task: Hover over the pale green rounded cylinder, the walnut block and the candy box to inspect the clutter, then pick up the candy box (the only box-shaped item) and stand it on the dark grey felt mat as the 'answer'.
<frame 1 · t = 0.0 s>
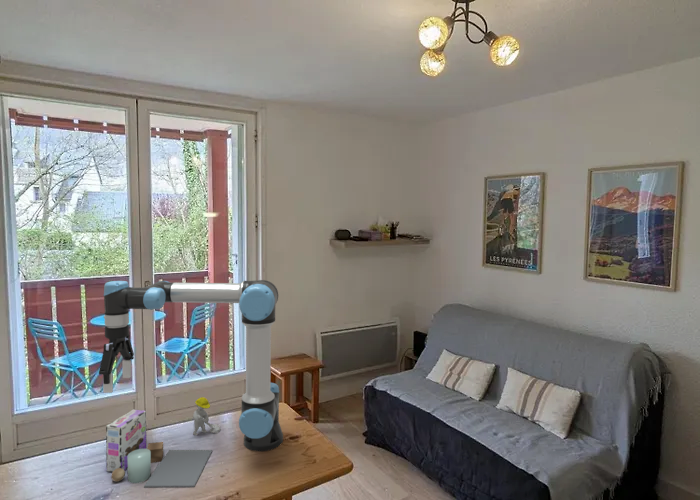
hand: (117, 384, 154), 28 cm above the table, fingers open, 13 cm apart
figurine: (206, 433, 178), on the table
pale green rounded cylinder: (139, 476, 147), on the table
felt mat: (180, 468, 153), on the table
cork ball: (118, 480, 145), on the table
candy box: (127, 462, 156), on the table
walnut block: (155, 459, 158), on the table
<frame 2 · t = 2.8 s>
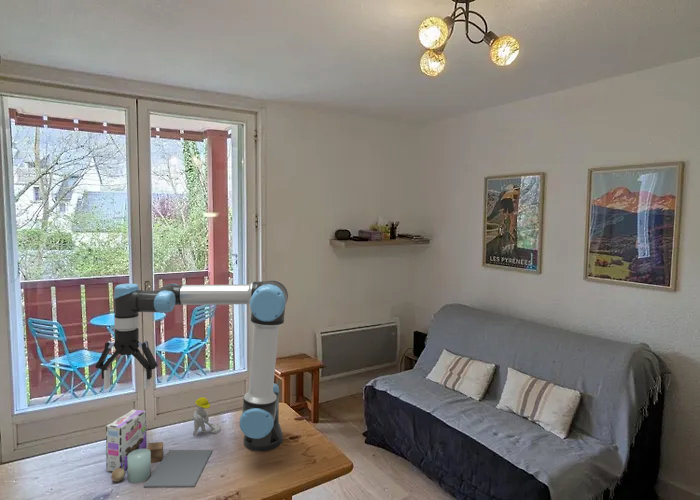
hand: (127, 387, 154), 27 cm above the table, fingers open, 13 cm apart
nothing on the table moved.
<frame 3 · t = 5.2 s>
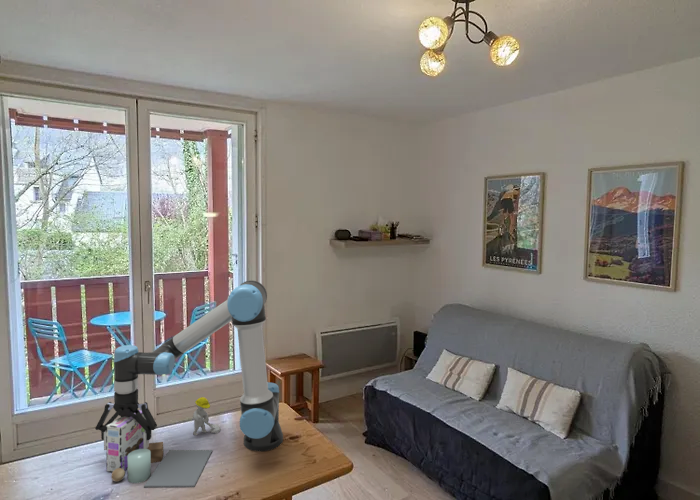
hand: (126, 448, 155), 5 cm above the table, fingers open, 13 cm apart
walnut block: (155, 459, 158), on the table, touching felt mat, gripper
everything else where it was.
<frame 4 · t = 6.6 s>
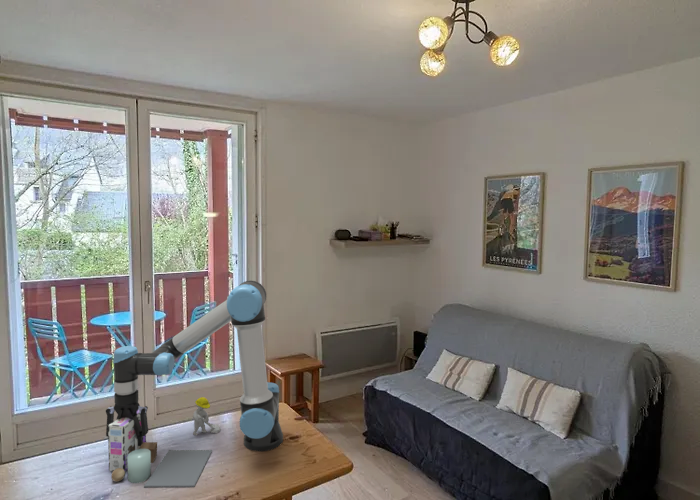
hand: (127, 454, 156), 3 cm above the table, fingers closed on candy box, 6 cm apart
candy box: (128, 461, 156), on the table, touching gripper
walnut block: (155, 452, 158), point 2 cm above the table, tilted 86°
everything else where it was.
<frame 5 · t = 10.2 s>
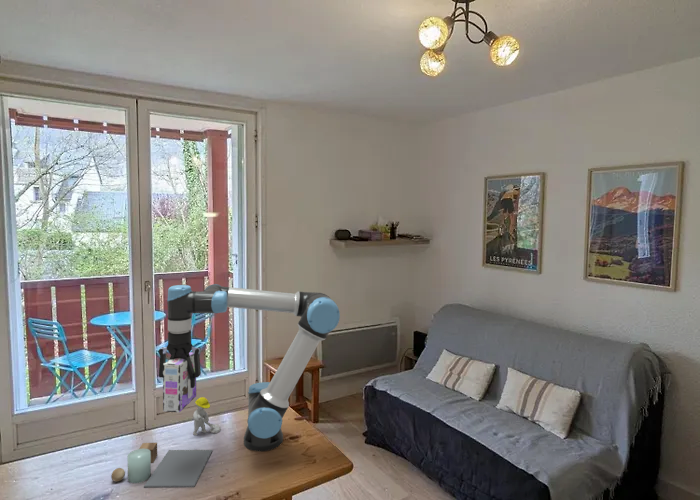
hand: (180, 396, 151), 26 cm above the table, fingers closed on candy box, 6 cm apart
candy box: (180, 404, 151), point 23 cm above the table, touching gripper
everything else where it was.
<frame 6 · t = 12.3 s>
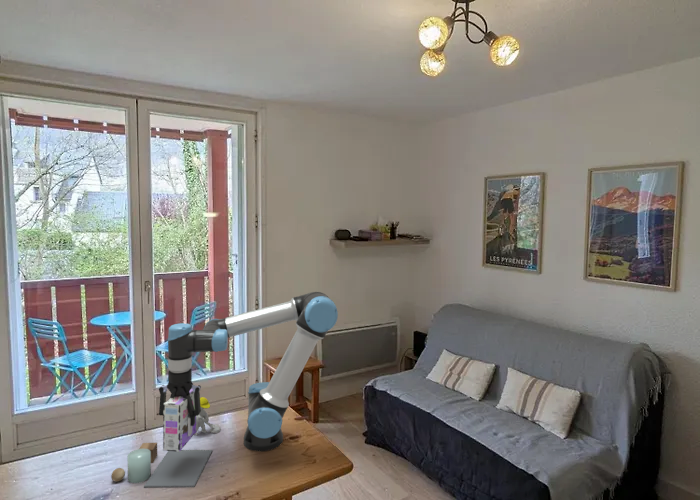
hand: (180, 434, 152), 12 cm above the table, fingers closed on candy box, 6 cm apart
candy box: (180, 441, 152), point 9 cm above the table, touching gripper
everything else where it was.
when the fingers open (4 cm above the table, at t = 14.3 s): candy box drops 1 cm, resting on felt mat.
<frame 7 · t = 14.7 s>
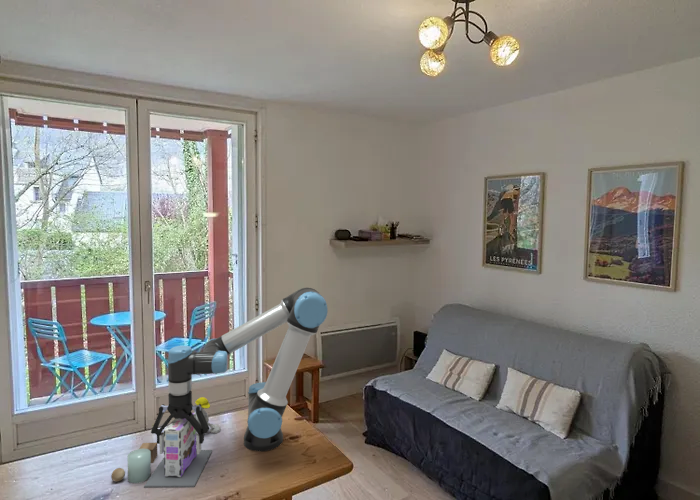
hand: (180, 452, 152), 6 cm above the table, fingers open, 12 cm apart
candy box: (181, 466, 153), resting on felt mat
everything else where it was.
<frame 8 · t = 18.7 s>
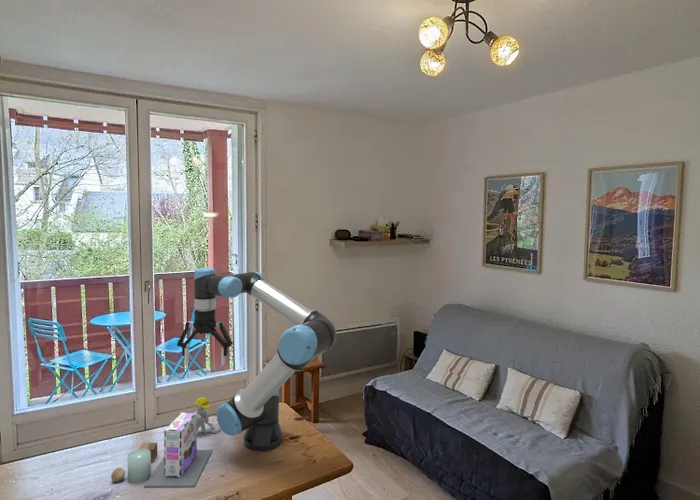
hand: (205, 364, 167), 32 cm above the table, fingers open, 13 cm apart
nothing on the table moved.
at the end: candy box 0.2 cm from the felt mat (horizontally); candy box tilted 0°; the gripper is holding nothing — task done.
